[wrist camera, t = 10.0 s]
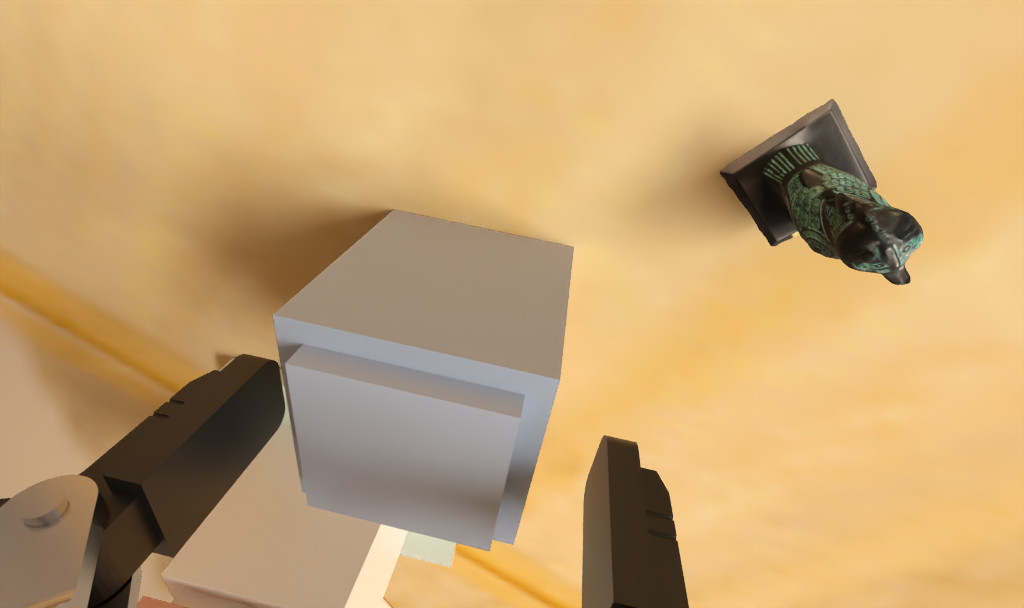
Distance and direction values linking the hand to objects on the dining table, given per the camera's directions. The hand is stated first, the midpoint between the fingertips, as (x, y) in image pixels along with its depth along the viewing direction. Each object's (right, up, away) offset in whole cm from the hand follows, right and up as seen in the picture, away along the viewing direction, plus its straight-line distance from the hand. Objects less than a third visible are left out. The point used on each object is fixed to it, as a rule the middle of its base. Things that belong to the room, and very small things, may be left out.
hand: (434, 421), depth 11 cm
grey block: (+1, +3, +4) cm, 5 cm away
